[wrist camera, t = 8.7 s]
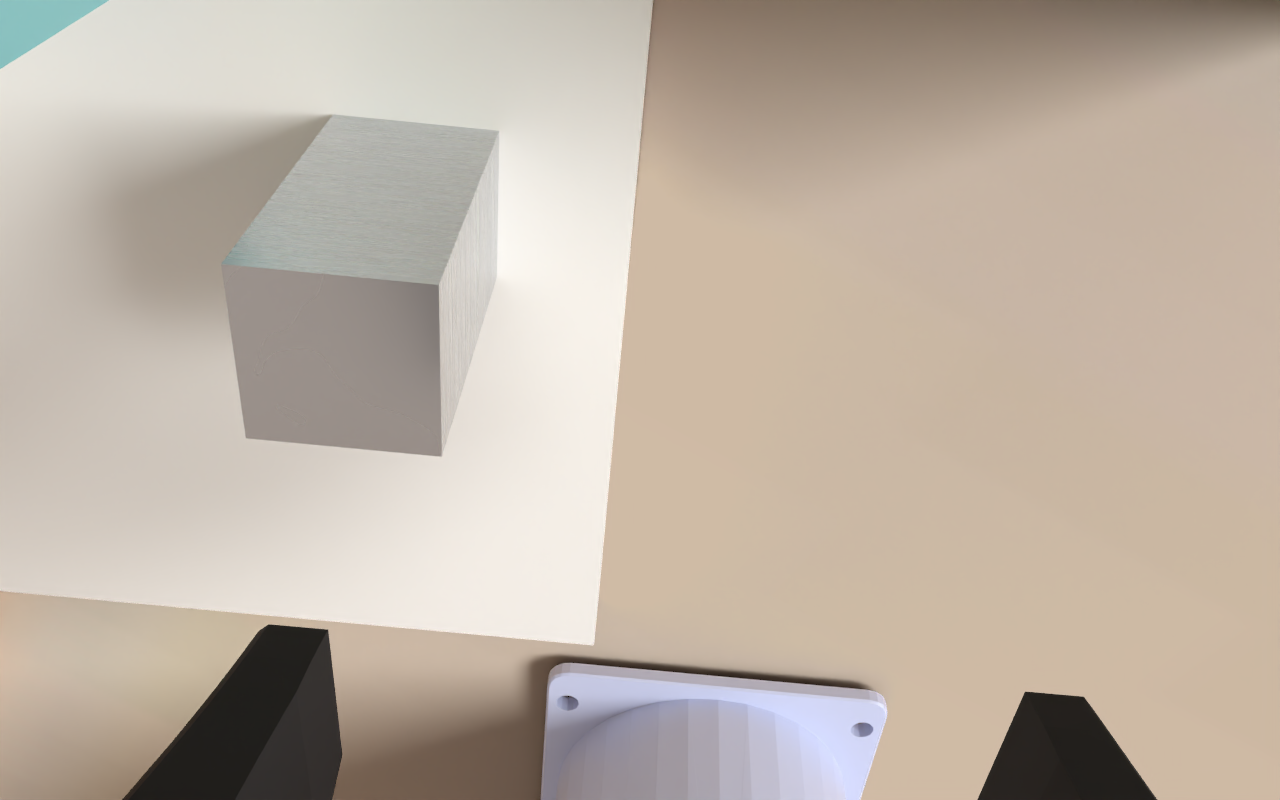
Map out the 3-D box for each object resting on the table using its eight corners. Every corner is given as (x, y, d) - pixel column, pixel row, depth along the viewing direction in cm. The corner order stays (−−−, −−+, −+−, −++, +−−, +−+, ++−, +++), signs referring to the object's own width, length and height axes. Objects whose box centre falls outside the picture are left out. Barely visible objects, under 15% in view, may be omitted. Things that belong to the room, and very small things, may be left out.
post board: (598, 595, 25) (593, 645, 24) (-26, 538, 25) (-64, 585, 24) (704, -570, 14) (705, -589, 13) (-441, -694, 14) (-555, -727, 12)
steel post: (496, 277, 19) (441, 456, 15) (343, 262, 19) (245, 438, 15) (499, 130, 17) (438, 285, 13) (332, 114, 17) (221, 264, 13)
